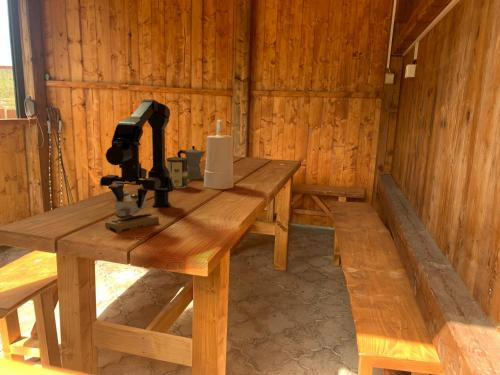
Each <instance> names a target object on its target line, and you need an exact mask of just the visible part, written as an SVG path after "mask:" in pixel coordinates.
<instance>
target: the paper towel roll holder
mask: <svg viewBox="0 0 500 375" xmlns="http://www.w3.org/2000/svg"><path fill="white" fill-rule="evenodd" d="M221 131H223V120H222V119H217V121H216V135H207V136H206V152H205V165H204V168H205V169H204V173H203V174H204V176H203V187H205V188H208V189H214V190H227V189H233V188H234V187H235V186H234V157H233V156H234V153H233V152H234V151H233V150H234V148H233V136H231V135H227V134H226V135H223V134H221Z"/></svg>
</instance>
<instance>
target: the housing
mask: <svg viewBox="0 0 500 375" xmlns="http://www.w3.org/2000/svg"><path fill="white" fill-rule="evenodd" d="M114 202H115V203H114V204H115V206H114V207H116V212H115V215H116V214H118V216H117V217H127V216H126V215H128V216H130V215H131V216H135V215H137V213H139V212H140V211H142V210H144V209H145V208H147V196H145V199H144V201H143V204H142V207H141V208H139V205H138V193H137V194H136V193H135V194H134V193H133V194H129V195H128V196H126V197H123V198H121V199H119V200H117V201H115V200H114Z"/></svg>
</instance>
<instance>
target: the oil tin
mask: <svg viewBox="0 0 500 375" xmlns="http://www.w3.org/2000/svg"><path fill="white" fill-rule="evenodd" d="M128 195H130V192H129V191H125V189H123V197H126V196H128ZM115 201H117V198H116V196H115V195H114V202H115ZM114 207H115V206H114ZM114 209H115V216H116V217H119V216H118V214H116V207H115V208H114ZM125 217H129V215H126V216H125Z"/></svg>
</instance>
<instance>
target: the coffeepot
mask: <svg viewBox="0 0 500 375" xmlns="http://www.w3.org/2000/svg"><path fill="white" fill-rule="evenodd" d="M191 148H192V149H188V150H186V149H185V150H184V149H180V150H179V151H177V153H176V154H177V157H182V156H181V154H184V155H185V158H187V159H188V160H187V180H200V179H202V171H201V167H200V164H201V160H202V157H204V154H206V152H205V151H203V150H199V149H195V148H196V146H195V145H192V146H191Z"/></svg>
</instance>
